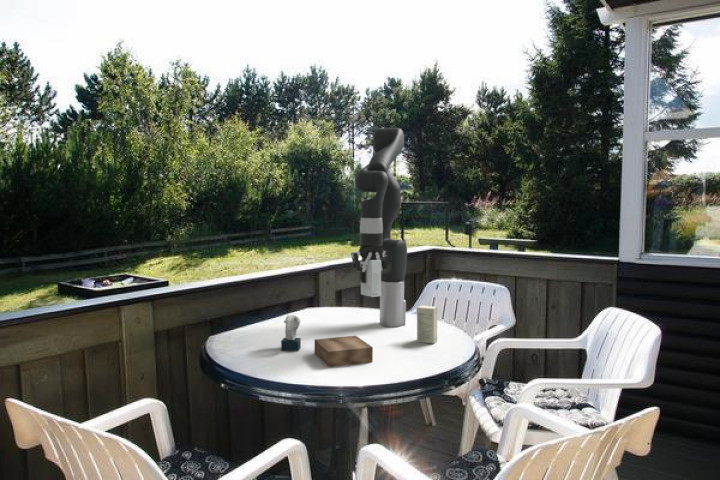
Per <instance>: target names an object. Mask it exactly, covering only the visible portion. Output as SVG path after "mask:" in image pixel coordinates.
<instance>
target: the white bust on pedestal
mask: <svg viewBox="0 0 720 480" xmlns="http://www.w3.org/2000/svg"><path fill="white" fill-rule="evenodd" d="M283 324H285V330H284V332H285V333H284V334H285V337H283V338H282V339H281V341H280V342H281V343H280V349H281V351H283V352H299V351H300V349H301V347H302V346H301V344H302V342H301V341H302V340H301V337H296V336H297V332H298V331H297V330H298V329H299V326H300V325H301V319H300V317H298V316H297V315H294V314H291V315H289V314H288V315H286V317H285V320H283Z"/></svg>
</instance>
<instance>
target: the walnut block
mask: <svg viewBox="0 0 720 480" xmlns="http://www.w3.org/2000/svg"><path fill="white" fill-rule="evenodd" d="M313 345H314V351H313V352H314V355H315V356H316V357H317V358H318V359H319V360H320V361H321V362H322V363H323V364H324V365H325V366H327V367H328V368H332V367H333V368H335V367H341V366H342V367H343V366H351V365H360V364H368V363H369V364H370V363H373V354H374V353H373V352H374V351H373V349H374V348H373V346H372V345H370V343H367V342H366V341H364V340H363V339H362V338H360V337H359V336H357V335H350V336H349V335H348V336H337V337H326V338H315V339H314V344H313Z"/></svg>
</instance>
